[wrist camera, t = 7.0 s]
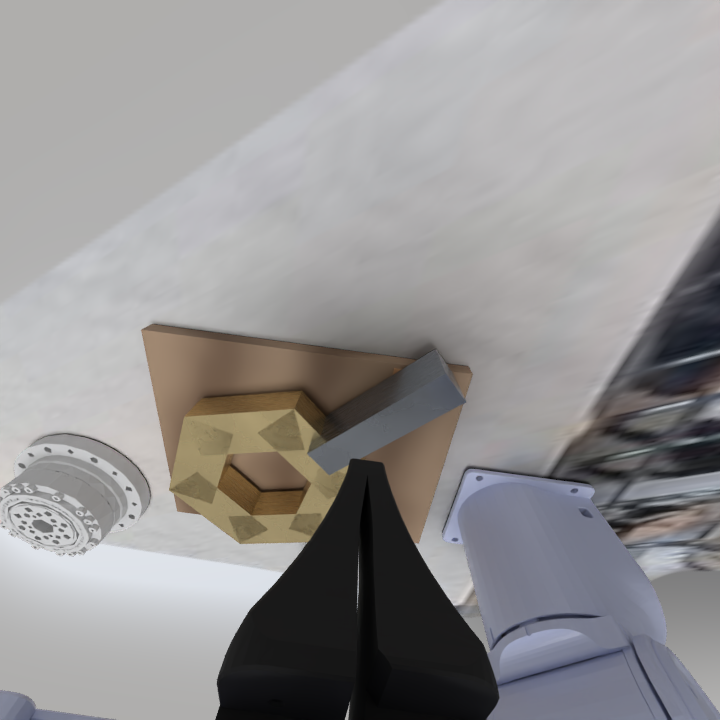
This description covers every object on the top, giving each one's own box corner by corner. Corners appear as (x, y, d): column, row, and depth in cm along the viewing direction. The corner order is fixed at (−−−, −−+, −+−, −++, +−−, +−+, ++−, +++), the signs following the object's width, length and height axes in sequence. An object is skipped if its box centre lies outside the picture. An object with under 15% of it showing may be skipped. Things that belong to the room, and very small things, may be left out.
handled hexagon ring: (278, 542, 26) (266, 581, 24) (148, 438, 22) (115, 470, 19) (498, 437, 20) (516, 472, 18) (377, 265, 16) (377, 277, 13)
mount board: (468, 366, 20) (473, 374, 19) (417, 532, 27) (418, 544, 26) (152, 324, 20) (140, 330, 19) (184, 501, 27) (176, 512, 26)
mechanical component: (118, 426, 24) (5, 436, 25) (66, 469, 20) (-66, 479, 21) (171, 515, 28) (72, 521, 29) (136, 566, 24) (23, 570, 25)
